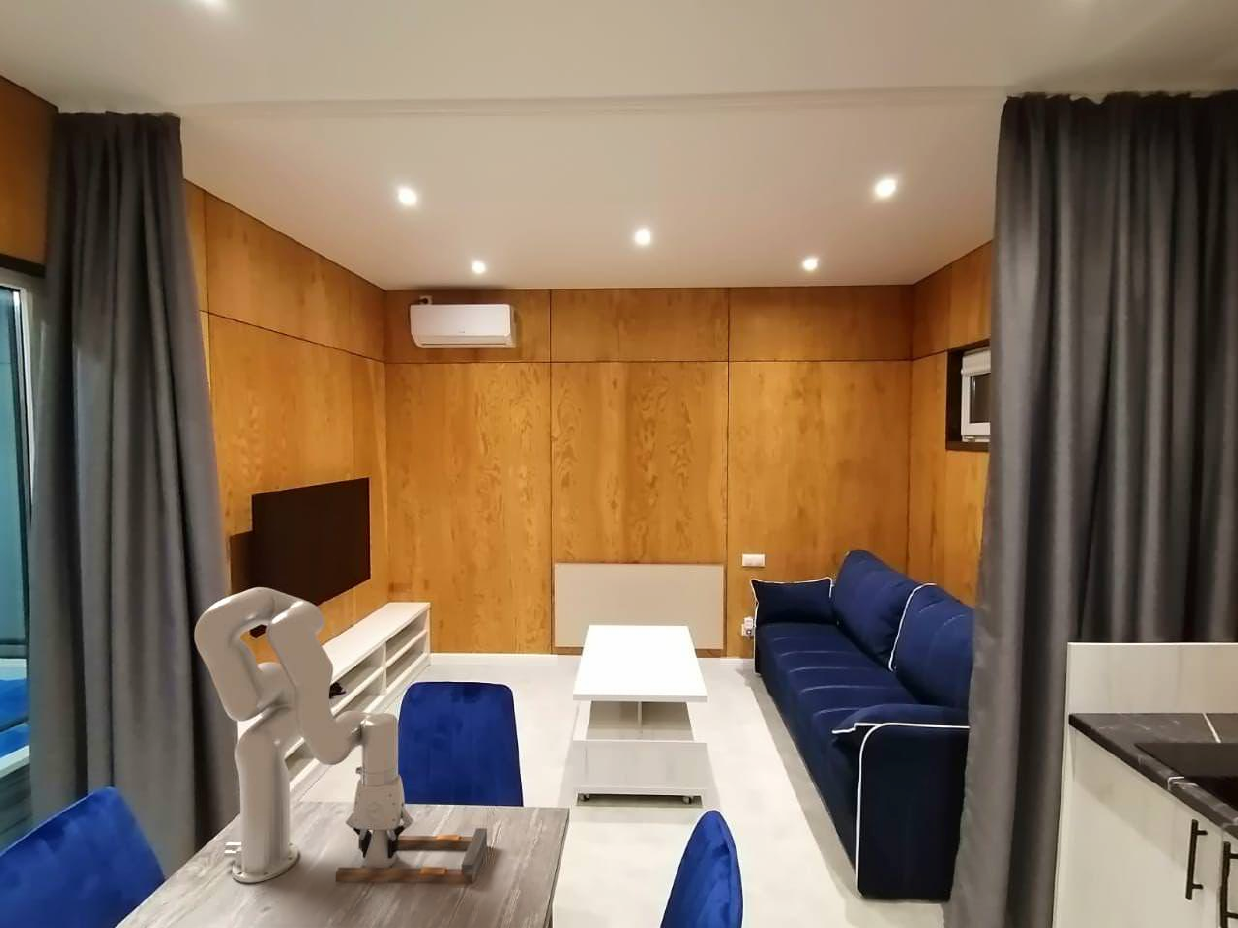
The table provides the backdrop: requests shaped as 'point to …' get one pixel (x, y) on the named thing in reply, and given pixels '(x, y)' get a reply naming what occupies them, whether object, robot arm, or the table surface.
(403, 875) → the guide channel
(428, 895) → the table surface
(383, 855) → the flask
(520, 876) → the table surface
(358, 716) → the robot arm
